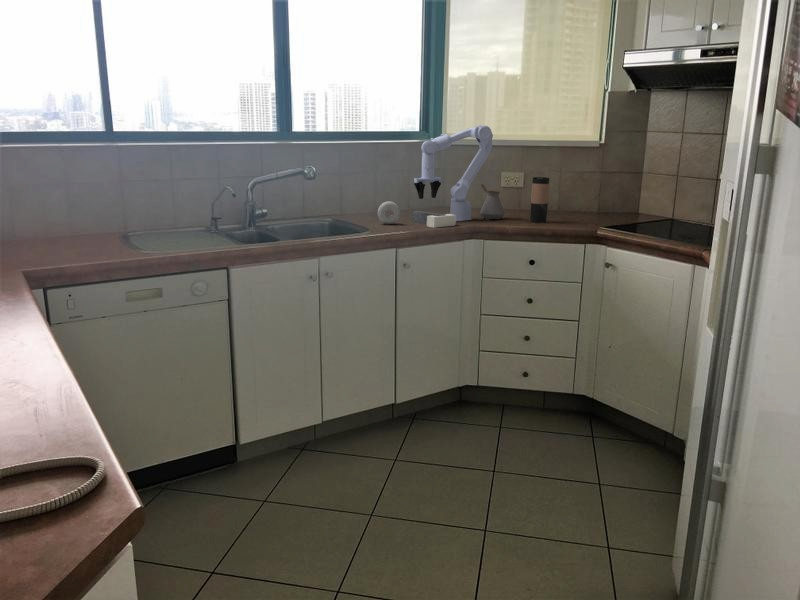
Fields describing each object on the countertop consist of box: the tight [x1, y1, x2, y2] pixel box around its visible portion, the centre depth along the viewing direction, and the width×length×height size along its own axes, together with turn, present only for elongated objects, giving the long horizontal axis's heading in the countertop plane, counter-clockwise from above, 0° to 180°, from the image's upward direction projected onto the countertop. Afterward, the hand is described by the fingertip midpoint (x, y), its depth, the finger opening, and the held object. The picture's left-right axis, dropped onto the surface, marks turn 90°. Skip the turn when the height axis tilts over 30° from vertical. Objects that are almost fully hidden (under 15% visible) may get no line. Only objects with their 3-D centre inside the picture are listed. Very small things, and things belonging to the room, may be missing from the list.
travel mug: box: [529, 176, 550, 224], centre depth 304 cm, size 8×8×20 cm
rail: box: [412, 210, 445, 225], centre depth 295 cm, size 4×16×5 cm, turn 47°
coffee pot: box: [478, 183, 505, 220], centre depth 317 cm, size 21×12×15 cm, turn 14°
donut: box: [377, 200, 401, 225], centre depth 291 cm, size 10×4×10 cm, turn 105°
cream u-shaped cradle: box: [426, 213, 457, 229], centre depth 289 cm, size 12×5×4 cm, turn 129°
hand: (427, 198), depth 305 cm, fingers open, 7 cm apart
